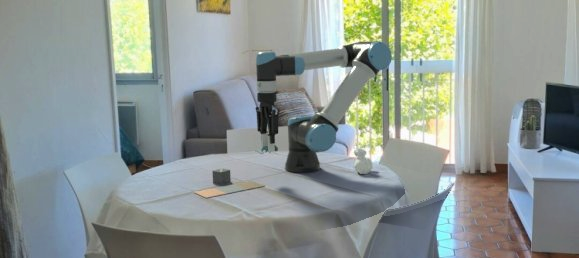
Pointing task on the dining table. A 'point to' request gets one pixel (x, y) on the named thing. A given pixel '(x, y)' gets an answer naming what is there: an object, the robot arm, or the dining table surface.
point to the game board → (228, 189)
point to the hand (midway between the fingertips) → (268, 150)
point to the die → (221, 176)
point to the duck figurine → (362, 162)
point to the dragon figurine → (267, 149)
